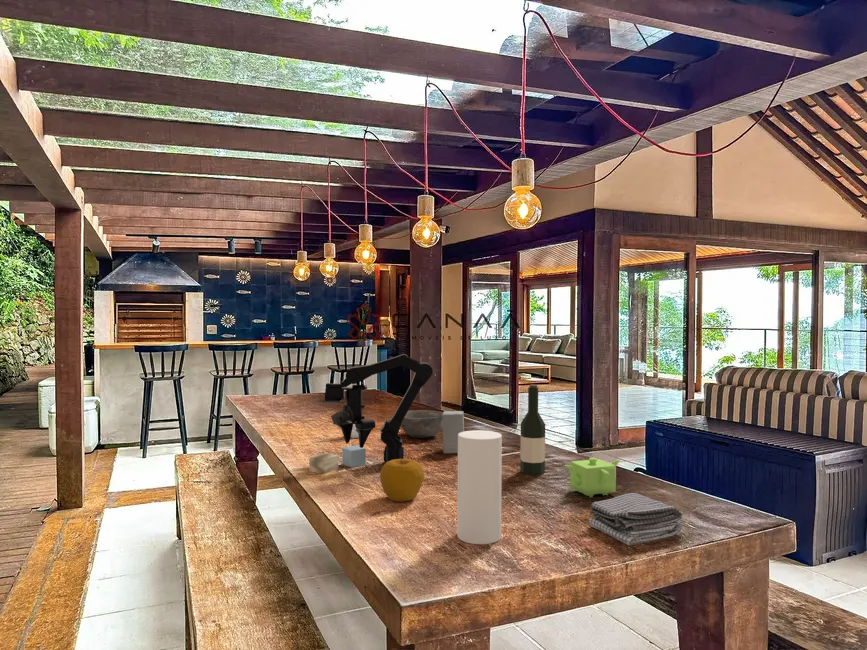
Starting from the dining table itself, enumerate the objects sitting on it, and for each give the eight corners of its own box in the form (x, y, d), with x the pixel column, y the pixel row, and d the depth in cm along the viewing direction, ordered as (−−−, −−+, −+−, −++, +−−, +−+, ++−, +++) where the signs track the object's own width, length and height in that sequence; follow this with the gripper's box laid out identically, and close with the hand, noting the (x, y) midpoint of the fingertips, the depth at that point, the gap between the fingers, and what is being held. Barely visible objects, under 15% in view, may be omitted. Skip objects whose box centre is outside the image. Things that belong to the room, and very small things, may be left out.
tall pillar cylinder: (497, 527, 151) (498, 430, 150) (504, 544, 140) (504, 439, 140) (455, 528, 151) (456, 430, 150) (459, 544, 140) (459, 439, 139)
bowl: (391, 433, 267) (391, 411, 267) (432, 430, 276) (432, 408, 275) (408, 443, 248) (408, 419, 248) (452, 438, 257) (452, 415, 257)
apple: (375, 494, 178) (375, 456, 178) (415, 490, 183) (416, 453, 182) (387, 507, 166) (387, 467, 166) (430, 502, 171) (430, 463, 170)
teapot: (563, 496, 177) (564, 461, 177) (570, 484, 190) (570, 451, 189) (617, 502, 172) (617, 466, 171) (620, 489, 184) (620, 455, 184)
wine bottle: (544, 476, 199) (545, 386, 198) (519, 474, 201) (520, 386, 200) (545, 469, 207) (545, 383, 206) (520, 468, 209) (521, 383, 208)
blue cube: (365, 465, 213) (365, 448, 213) (351, 467, 209) (351, 450, 209) (356, 461, 217) (356, 445, 217) (342, 464, 213) (342, 447, 213)
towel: (684, 536, 147) (684, 504, 147) (626, 547, 139) (626, 514, 139) (640, 516, 161) (640, 487, 160) (585, 526, 153) (585, 495, 153)
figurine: (350, 439, 254) (350, 404, 254) (344, 435, 263) (344, 401, 262) (366, 438, 257) (366, 403, 257) (360, 434, 266) (360, 400, 265)
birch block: (338, 469, 207) (338, 455, 207) (325, 474, 201) (325, 459, 200) (322, 466, 210) (322, 452, 210) (309, 471, 204) (309, 457, 204)
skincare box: (464, 450, 236) (464, 410, 235) (463, 454, 229) (464, 413, 228) (443, 449, 237) (443, 410, 236) (441, 453, 229) (442, 413, 229)
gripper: (321, 401, 214) (321, 444, 215) (348, 407, 200) (349, 453, 201) (347, 398, 222) (347, 439, 222) (376, 404, 207) (376, 448, 208)
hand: (354, 445), depth 213 cm, fingers open, 9 cm apart
